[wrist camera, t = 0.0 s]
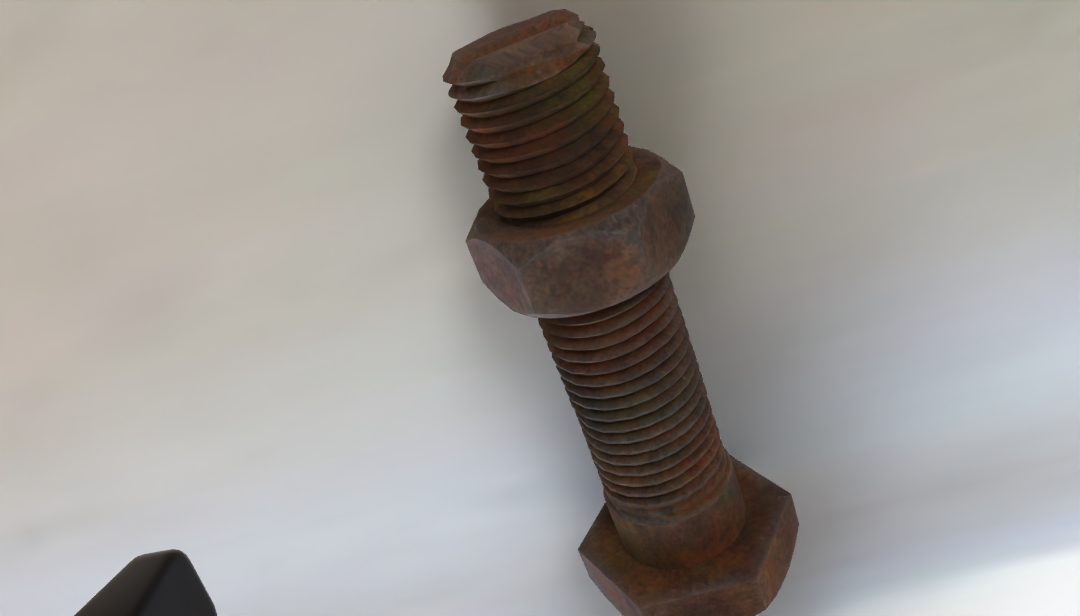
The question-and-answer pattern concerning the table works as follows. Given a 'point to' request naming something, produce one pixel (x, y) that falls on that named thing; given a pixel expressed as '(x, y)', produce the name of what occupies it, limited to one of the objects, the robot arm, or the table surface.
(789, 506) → the bolt
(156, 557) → the robot arm
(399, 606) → the table surface
